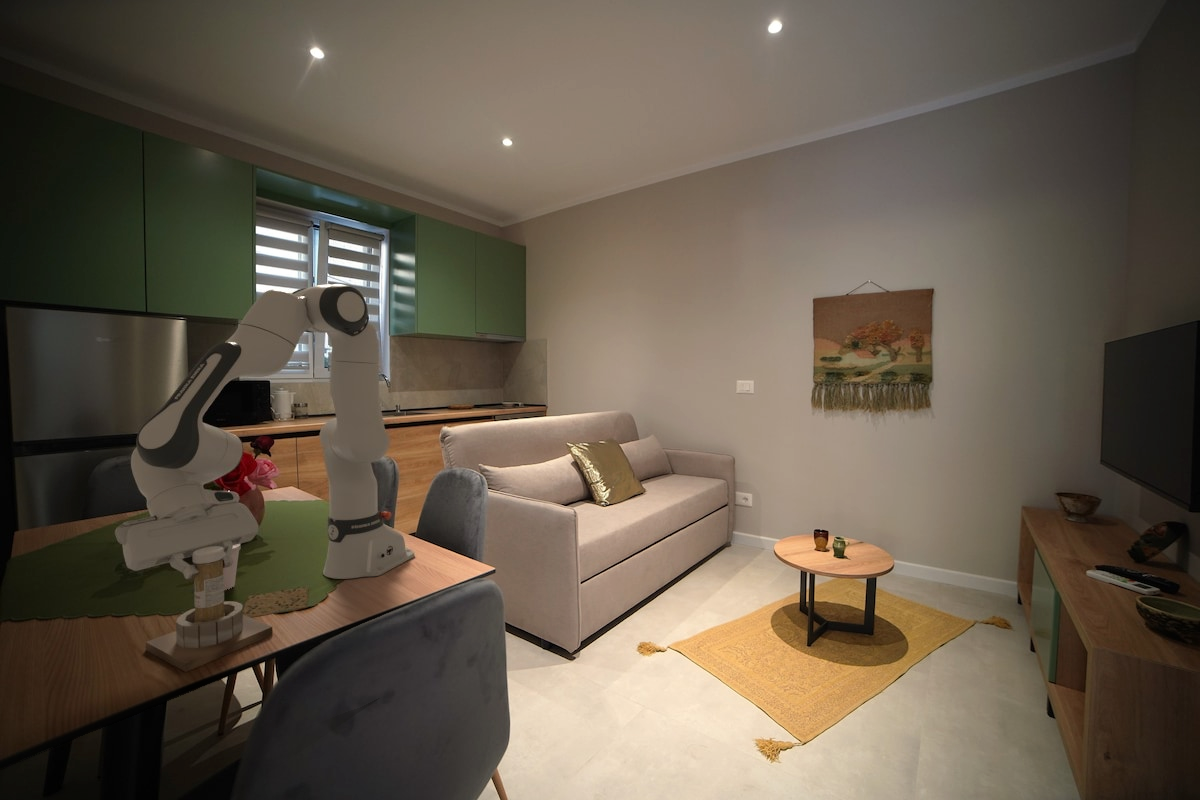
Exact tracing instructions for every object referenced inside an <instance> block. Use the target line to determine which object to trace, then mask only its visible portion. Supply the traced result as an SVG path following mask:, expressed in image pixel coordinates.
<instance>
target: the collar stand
mask: <svg viewBox="0 0 1200 800" xmlns="http://www.w3.org/2000/svg"><path fill="white" fill-rule="evenodd" d="M243 610H244V606H243V604H242V603H240V602H238V601H227V600H226V601H225V600H224V614H225V616H224V617H222V618H219V619H216V620H213V621H208V622H203V623H194V622H195V607H194V608H191V609H189V610H187V611H185V612H184V613H182V614H180V615H179V616H178V617H177V619H176V621H175V625H176V626H175V627H176V629H175V630H174V631H172V632H170V633H169V632H168V633H167V634H164V635H161V636H158V637H156V638H153V639H150V640H148V641H145V651H147V652H149V653H150V654H152V655H154V656H155V657H157V658H160V659H161V660H163V661H165V662H167V663H169V664H170V665H172V666H175V668H178V669H179V670H181V671H182V672H185V673H187V672H191V671H192V670H194V669H196V668H199V667H202V666H204V665H206V664H208V663H210V662H213V661H215V660H217V659H219V658H222V657H224V656H227V655H228V654H230V653H233V652H235V651H238V650H240V649H243V648H245V647H246V646H249V645H252V644H254V643H256V642H258V641H260V640H263V639H265V638H268V637H269V636H272V635H273V634H274V633H273V626H272V625H269V624H267V623H265V622H263V621H259V620H257V619H256V618H255V619H254V618H250V617H247V616H245V615H243Z"/></svg>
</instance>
